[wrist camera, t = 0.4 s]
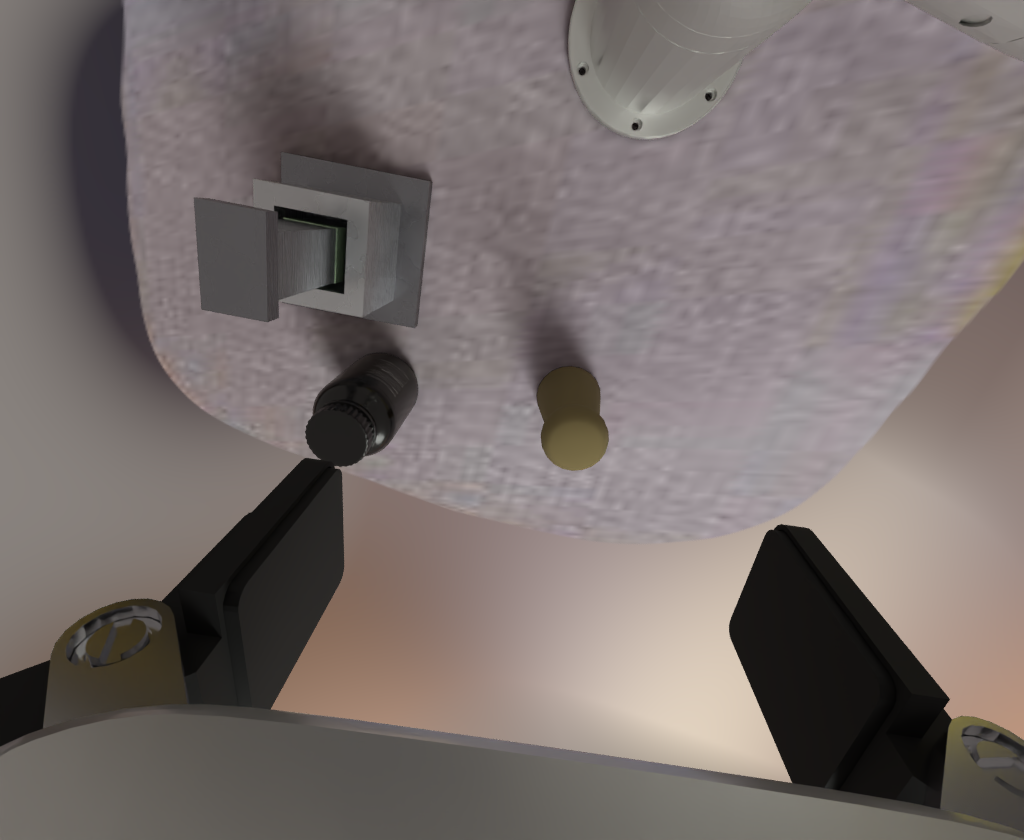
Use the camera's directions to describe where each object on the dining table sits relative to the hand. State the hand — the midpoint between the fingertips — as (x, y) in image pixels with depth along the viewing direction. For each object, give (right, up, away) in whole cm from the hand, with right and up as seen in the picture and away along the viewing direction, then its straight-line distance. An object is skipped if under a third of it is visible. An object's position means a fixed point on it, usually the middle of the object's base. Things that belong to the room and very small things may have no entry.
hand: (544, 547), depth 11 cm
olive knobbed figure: (+5, +5, +36) cm, 36 cm away
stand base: (-14, +18, +31) cm, 39 cm away
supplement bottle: (-13, +6, +36) cm, 39 cm away
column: (-14, +17, +30) cm, 37 cm away
